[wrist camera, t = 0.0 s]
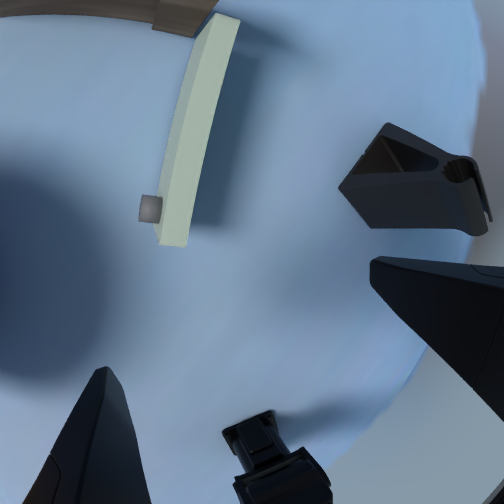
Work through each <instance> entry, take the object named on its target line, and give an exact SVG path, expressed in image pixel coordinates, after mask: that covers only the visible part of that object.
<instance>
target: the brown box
mask: <svg viewBox="0 0 504 504" xmlns="http://www.w3.org/2000/svg"><path fill="white" fill-rule="evenodd" d="M218 1H219V0H0V17H6V16H18V15H40V14H64V15H87V16H100V17H110V18H119V19H127V20H134V21H141V22H147V23H153V26H152V30H158V31H163V32H168V33H173V34H177V35H182V36H186V37H191V38H192V37H193V35H194V34H195V32H196V31H197V29H198V28H199V27H200V25H201V24H202V22H203V21H204V20H205V18H206V17H207V16H208V14H209V13H210V12H211V10H212V9H213V8H214V6H215V5H216V4H217V2H218Z"/></svg>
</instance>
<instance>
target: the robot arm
mask: <svg viewBox="0 0 504 504" xmlns="http://www.w3.org/2000/svg"><path fill="white" fill-rule="evenodd" d="M370 284H371V286H372V287H373V289H374V290H375V291H376V292H377V293H378V294H379V295H380V296H381V298H382V299H383V300H384V301H385V302H386V303H387V304H388V305H389V307H390V308H391V309H392V310H393V311H394V312H395V313H396V314H397V315H398V316H399V317H400V318H401V319H402V320H403V321H404V322H405V323H406V324H407V325H408V326H409V327H410V328H411V329H412V330H413V331H414V332H415V333H417V334H418V335H419V336H420V337H421V338H422V339H423V340H424V341H425V342H426V343H427V344H428V345H429V346H430V347H431V348H432V349H433V350H434V351H435V352H436V353H437V354H438V355H439V356H440V357H441V358H442V359H443V360H444V361H445V362H446V363H447V364H448V365H449V366H450V367H451V368H453V369H454V370H455V372H457V374H459V375H460V377H462V378H463V380H464V381H465V382H466V383H467V384H468V385H469V386H470V387H471V388H473V390H474V391H475V392H476V393H477V394H478V395H479V396H480V397H481V398H482V399H483V400H484V402H485V403H486V404H487V405H488V406H489V407H490V408H491V409H492V410H493V411H494V412H495V413H496V414H497V415H498V416H499V418H500V419H501V420H502V421H503V422H504V267H497V266H482V265H471V264H470V265H469V264H461V263H450V262H439V261H429V260H418V259H407V258H396V257H385V256H379V257H377V258H375V259H373V260H371V261H370ZM222 435H223V437H224V438H225V440H226V442H227V444H228V445H229V447H230V449H231V451H232V452H233V454H234V455H237V457H238V459H239V461H240V463H241V465H242V467H243V469H244V470H245V472H246V473H245V474H243V475H240V476H235V477H234V478H235V482H234V483H233V484H232V485H233V487H234V489H235V491H236V494H237V496H238V499H239V501H240V504H333V494H332V492H331V490H330V488H329V487H331V483H330V480H329V478H328V477H327V475H326V473H325V472H324V470H323V469H322V467H321V466H320V465H319V464H318V463H317V462H316V460H315V459H314V458H313V457H312V456H311V455H310V454H309V452H308V451H307V450H306V449H305V448H304V447H301V448H299V449H298V450H296V451H294V452H292V453H290V451H289V450H288V448H287V447H286V445H285V444H284V442H283V440H282V439H281V437H280V436H279V433H278V429H277V426H276V422H275V418H274V415H273V413H272V411H268V412H265V413H263V414H261V415H259V416H256V417H254V418H252V419H249V420H247V421H245V422H242V423H240V424H237V425H235V426H232V427H230V428H227V429H225V430H223V431H222ZM50 454H51V455H50ZM50 454H49V455H48V457H47V460H46V462H45V464H44V466H43V467H42V469H41V471H40V473H39V475H38V477H37V479H36V481H35V482H34V484H33V486H32V488H31V490H30V491H29V493H28V495H27V496H26V498H25V500H24V502H23V503H22V504H152V503H151V500H150V496H149V492H148V488H147V484H146V480H145V476H144V471H143V467H142V462H141V458H140V453H139V448H138V443H137V438H136V433H135V430H134V426H133V423H132V419H131V416H130V412H129V409H128V405H127V401H126V398H125V394H124V390H123V388H122V385H121V384H120V382H119V381H118V379H117V378H116V376H115V375H114V373H113V372H112V370H111V369H110V368H109V367H108V366H105V367H102V368H98V369H96V370H95V371H94V373H93V375H92V377H91V378H90V380H89V382H88V383H87V385H86V387H85V389H84V390H83V392H82V394H81V396H80V397H79V399H78V401H77V403H76V405H75V406H74V408H73V410H72V412H71V414H70V415H69V417H68V419H67V421H66V423H65V425H64V427H63V428H62V430H61V432H60V434H59V436H58V438H57V440H56V442H55V444H54V446H53V448H52V450H51V452H50ZM483 504H504V479H503V480H502V482H501V483H500V484H499V485H498V486H497V488H496V489H495V490H494V491H493V492H492V493H491V495H490V496H489V497H488V498H487V499H486V500H485V501H484V502H483Z"/></svg>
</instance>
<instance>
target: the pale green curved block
mask: <svg viewBox="0 0 504 504" xmlns="http://www.w3.org/2000/svg"><path fill="white" fill-rule="evenodd" d="M240 21H241V20H238V19H235V18H231V17H228V16H225V15H222V14H218V13H215V14H214V16H213V17H212V18H211V19H210V21H209V22H208V23H207V25H206V26H205V27H204V29H203V30H202V31H201V32H200V34H199V35H198V36H197V38H196V40H195V43H194V46H193V49H192V52H191V56H190V59H189V62H188V65H187V69H186V72H185V76H184V79H183V83H182V86H181V90H180V94H179V97H178V101H177V105H176V109H175V113H174V117H173V121H172V125H171V129H170V134H169V138H168V142H167V147H166V152H165V156H164V161H163V166H162V171H161V176H160V181H159V186H158V192H157V196H150V195H142V198H141V203H140V210H139V222H147V223H153V226H154V229H155V232H156V235H157V238H158V241H159V244H160V245H167V246H176V247H186V244H187V239H188V233H189V228H190V222H191V217H192V212H193V207H194V202H195V197H196V192H197V187H198V182H199V178H200V173H201V169H202V164H203V159H204V155H205V151H206V146H207V142H208V138H209V134H210V129H211V125H212V121H213V117H214V113H215V109H216V105H217V101H218V98H219V94H220V90H221V86H222V82H223V79H224V75H225V72H226V68H227V64H228V61H229V57H230V54H231V51H232V47H233V44H234V40H235V37H236V34H237V31H238V27H239V24H240Z"/></svg>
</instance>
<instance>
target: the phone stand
mask: <svg viewBox="0 0 504 504" xmlns="http://www.w3.org/2000/svg"><path fill="white" fill-rule="evenodd" d="M338 189H339V190H340V191H341V192H342V194H343V195H344V196H345V197H346V198H347V200H348V201H349V202H350V203H351V204H352V206H353V207H354V208H355V209H356V211H357V212H358V213H359V214H360V216H361V217H362V218H363V219H364V221H365V222H366V223H367V224H368V226H369V227H370V228H439V229H458V230H461V231H463V232H465V233H467V234H468V235H471V236H480V235H483V234H485V233H486V232H487V231H488V227H487V223H486V219H485V215H484V211H485V212H486V213H487V214H488V217H489V221H490V222H492V221H493V219H492V214H491V210H490V206H489V202H488V199H487V195H486V191H485V187H484V184H483V181H482V177H481V174H480V171H479V168H478V165H477V163H476V161H475V160H474V159H472V158H471V157H468V156H459V155H453V154H450V153H447V152H445V151H444V150H442V149H440V148H438V147H436V146H435V145H433V144H431V143H429V142H427V141H425V140H423V139H421V138H420V137H418V136H416V135H414V134H412V133H410V132H408V131H406V130H404V129H402V128H400V127H397V126H395V125H393V124H391V123H386V124H384V126H383V127H382V129H381V130H380V131H379V133H378V134H377V135H376V137H375V138H374V140H373V141H372V142H371V144H370V145H369V146H368V148H367V149H366V150H365V154H364V155H362V156H361V157H360V159H359V160H358V161H357V163H356V164H355V165H354V167H353V168H352V169H351V171H350V172H349V174H348V175H347V176H346V178H345V179H344V180H343V182H342V183H341V184H340V186H339V187H338Z"/></svg>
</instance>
